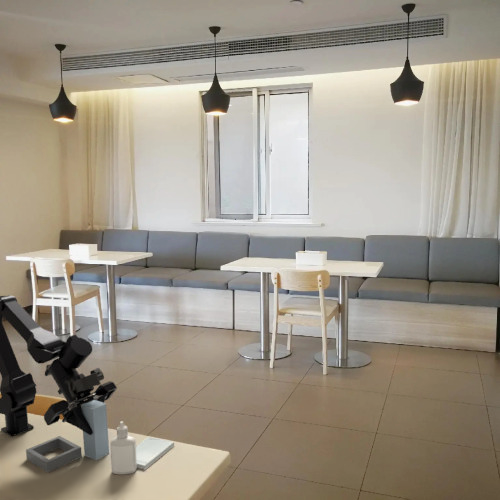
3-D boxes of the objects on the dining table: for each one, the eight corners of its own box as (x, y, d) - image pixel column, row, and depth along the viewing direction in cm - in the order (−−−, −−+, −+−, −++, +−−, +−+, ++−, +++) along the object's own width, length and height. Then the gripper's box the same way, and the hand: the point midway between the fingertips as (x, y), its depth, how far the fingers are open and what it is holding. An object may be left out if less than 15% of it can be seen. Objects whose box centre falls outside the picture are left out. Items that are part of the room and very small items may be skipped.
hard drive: (147, 436, 137) (117, 458, 125) (174, 441, 133) (144, 465, 122) (148, 442, 137) (117, 465, 126) (174, 447, 133) (145, 471, 122)
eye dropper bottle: (127, 478, 119) (124, 428, 117) (108, 472, 121) (105, 423, 120) (140, 469, 122) (137, 420, 121) (122, 463, 125) (119, 416, 124)
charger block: (84, 455, 130) (81, 405, 128) (97, 448, 133) (94, 399, 131) (96, 460, 127) (92, 409, 125) (109, 453, 130) (106, 403, 129)
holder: (26, 459, 128) (25, 449, 128) (60, 444, 135) (59, 435, 135) (47, 472, 122) (46, 462, 122) (81, 456, 129) (81, 447, 129)
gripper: (47, 372, 122) (80, 428, 117) (110, 351, 137) (141, 400, 132) (30, 398, 127) (61, 452, 122) (92, 374, 142) (122, 422, 137)
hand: (98, 430), depth 128 cm, fingers closed on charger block, 4 cm apart
